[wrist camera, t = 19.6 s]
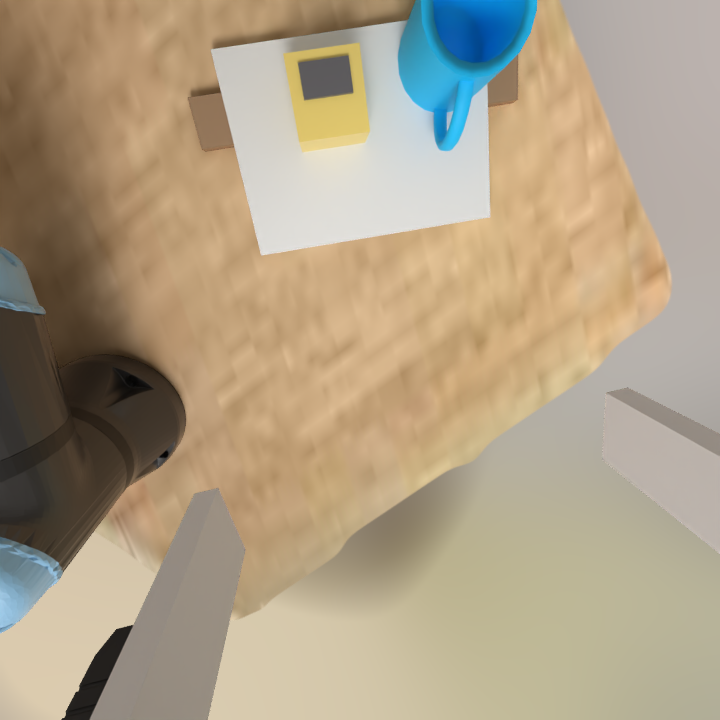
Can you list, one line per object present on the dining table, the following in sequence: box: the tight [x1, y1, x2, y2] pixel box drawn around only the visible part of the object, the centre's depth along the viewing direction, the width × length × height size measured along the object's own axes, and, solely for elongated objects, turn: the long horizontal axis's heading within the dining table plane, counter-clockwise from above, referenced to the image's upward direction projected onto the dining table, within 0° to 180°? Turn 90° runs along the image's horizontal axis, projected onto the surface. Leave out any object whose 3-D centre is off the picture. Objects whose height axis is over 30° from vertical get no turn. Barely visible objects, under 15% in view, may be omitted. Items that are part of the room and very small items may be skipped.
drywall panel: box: [188, 20, 518, 255], centre depth 34 cm, size 30×17×1 cm, turn 99°
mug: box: [398, 0, 537, 151], centre depth 28 cm, size 12×8×8 cm
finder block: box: [283, 43, 370, 152], centre depth 30 cm, size 6×6×4 cm
